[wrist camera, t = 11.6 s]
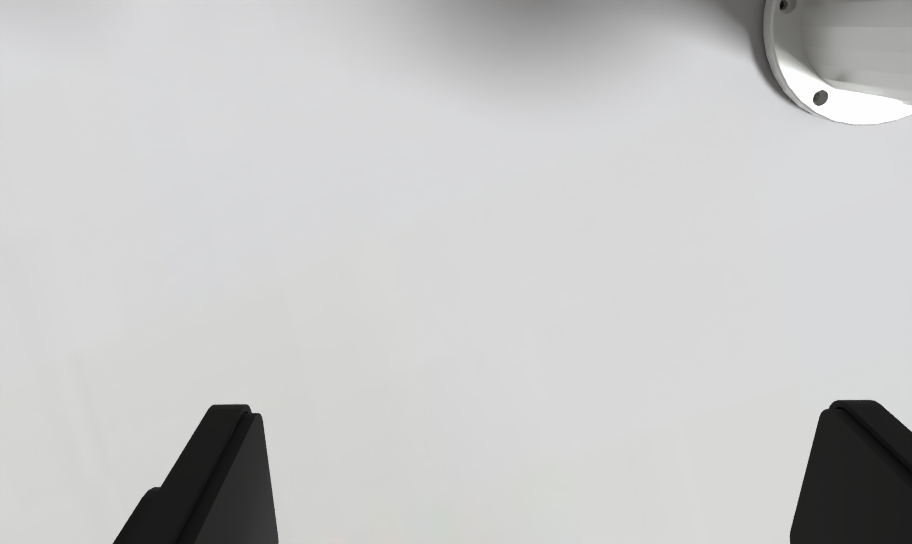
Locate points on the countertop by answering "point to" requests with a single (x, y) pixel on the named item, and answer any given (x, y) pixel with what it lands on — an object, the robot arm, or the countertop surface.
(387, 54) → the countertop surface
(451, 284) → the countertop surface
